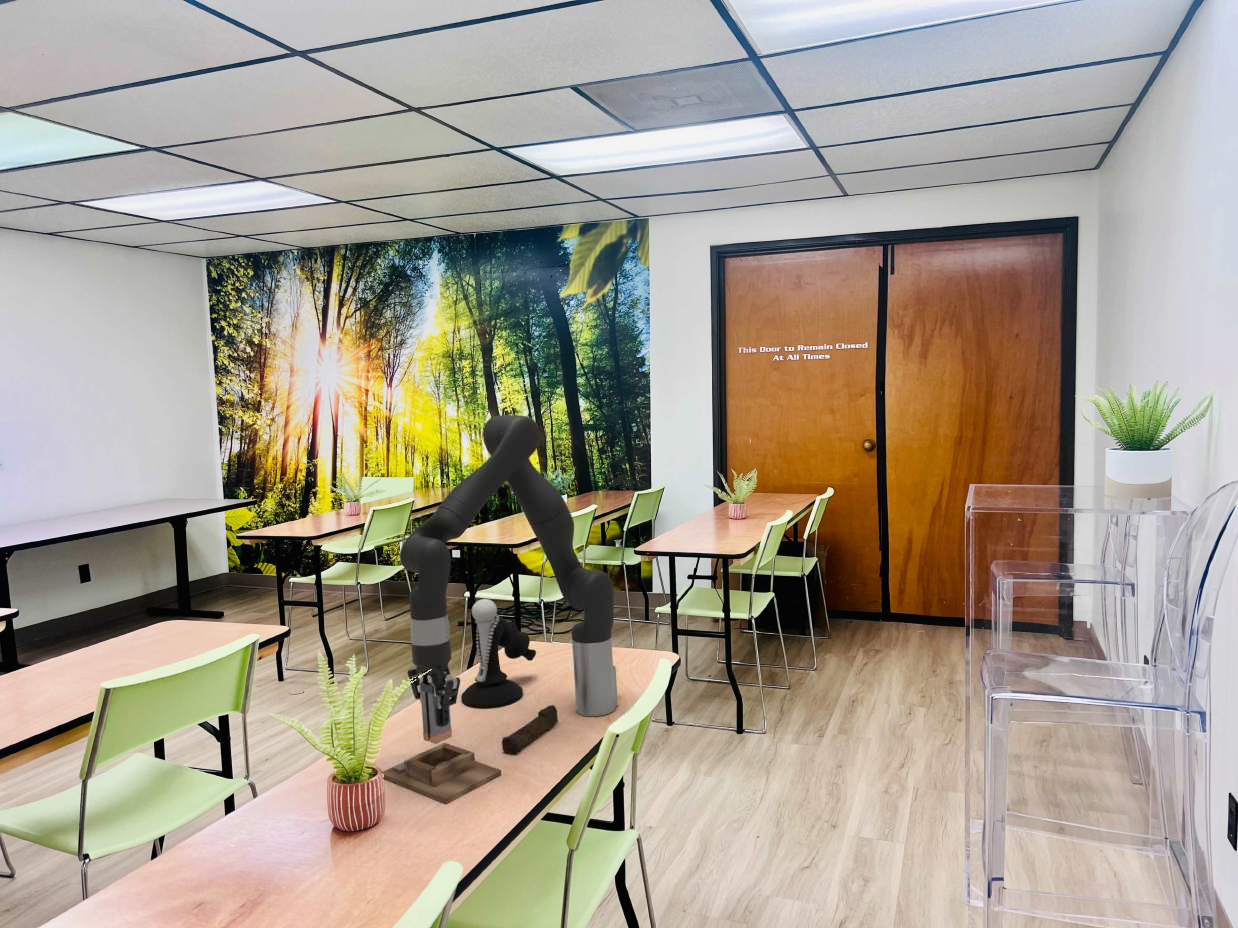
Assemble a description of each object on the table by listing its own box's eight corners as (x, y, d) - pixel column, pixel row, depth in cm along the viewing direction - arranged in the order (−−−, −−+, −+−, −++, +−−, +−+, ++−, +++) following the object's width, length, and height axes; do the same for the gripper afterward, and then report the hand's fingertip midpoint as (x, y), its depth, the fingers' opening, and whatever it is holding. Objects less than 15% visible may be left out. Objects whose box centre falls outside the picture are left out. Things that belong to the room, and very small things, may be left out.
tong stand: (436, 751, 181) (434, 733, 181) (501, 774, 168) (499, 755, 168) (380, 777, 170) (379, 758, 170) (445, 803, 158) (444, 783, 157)
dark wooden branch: (516, 757, 177) (515, 735, 176) (501, 753, 179) (500, 732, 178) (567, 724, 193) (566, 704, 193) (552, 721, 195) (551, 701, 195)
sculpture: (448, 702, 210) (441, 603, 207) (511, 672, 229) (505, 581, 227) (495, 712, 201) (488, 609, 199) (556, 681, 221) (550, 586, 219)
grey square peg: (440, 732, 171) (435, 670, 170) (452, 736, 169) (447, 673, 168) (423, 739, 168) (419, 676, 167) (435, 743, 166) (431, 680, 165)
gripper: (469, 638, 165) (475, 724, 167) (423, 628, 174) (428, 710, 176) (438, 648, 159) (445, 737, 161) (392, 637, 168) (398, 722, 170)
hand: (436, 722), depth 168 cm, fingers closed on grey square peg, 3 cm apart
